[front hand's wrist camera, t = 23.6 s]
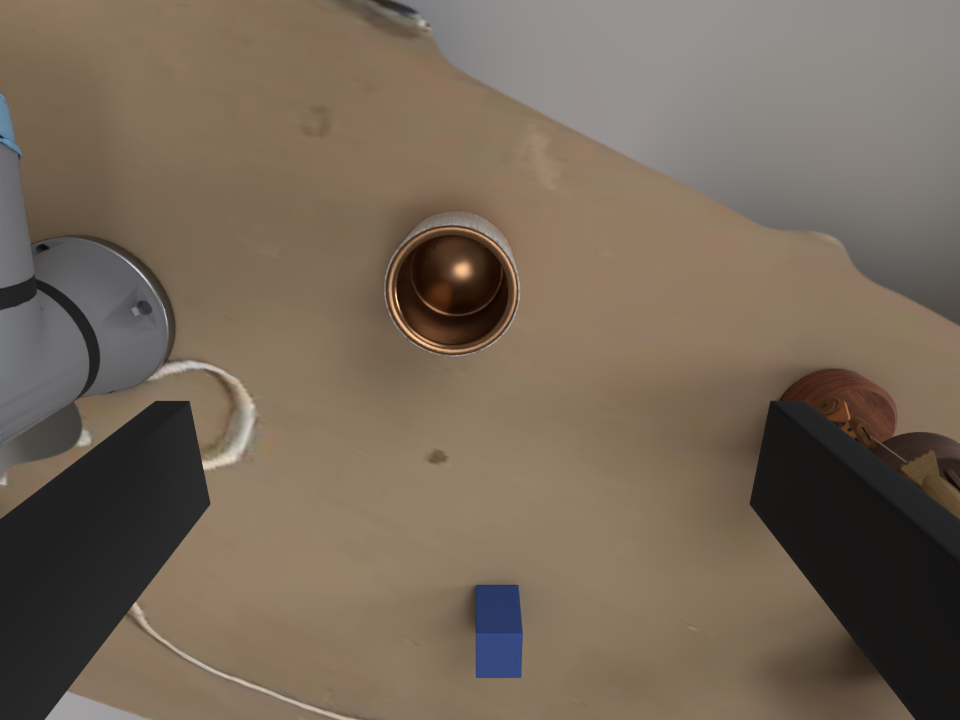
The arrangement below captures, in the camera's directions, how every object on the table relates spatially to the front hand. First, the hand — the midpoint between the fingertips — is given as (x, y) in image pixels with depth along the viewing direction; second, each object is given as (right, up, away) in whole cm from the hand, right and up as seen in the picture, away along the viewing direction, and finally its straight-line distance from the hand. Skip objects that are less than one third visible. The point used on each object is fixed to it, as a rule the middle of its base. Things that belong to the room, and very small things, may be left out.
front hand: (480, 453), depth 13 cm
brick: (+2, -28, +54) cm, 60 cm away
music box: (+36, -4, +45) cm, 58 cm away
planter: (-2, +11, +39) cm, 41 cm away
